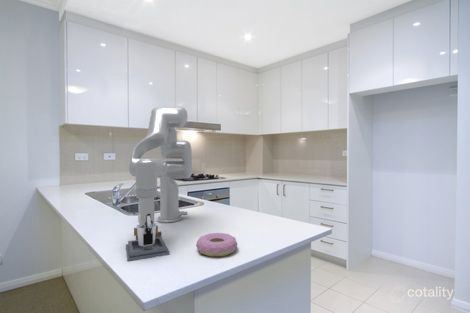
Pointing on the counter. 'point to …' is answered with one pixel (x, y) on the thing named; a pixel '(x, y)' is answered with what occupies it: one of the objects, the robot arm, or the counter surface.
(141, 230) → the white cup
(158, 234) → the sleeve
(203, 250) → the donut
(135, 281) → the counter surface
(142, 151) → the robot arm
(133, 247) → the cradle
